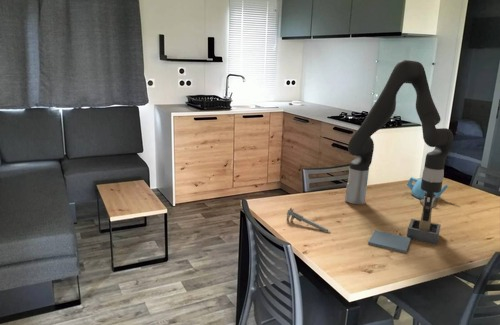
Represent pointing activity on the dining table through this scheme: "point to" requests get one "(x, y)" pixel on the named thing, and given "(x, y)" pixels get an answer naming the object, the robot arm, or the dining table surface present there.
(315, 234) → the dining table surface
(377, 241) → the rubber mat
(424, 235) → the socket block
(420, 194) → the teapot
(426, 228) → the handle
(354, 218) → the dining table surface
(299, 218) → the caliper
